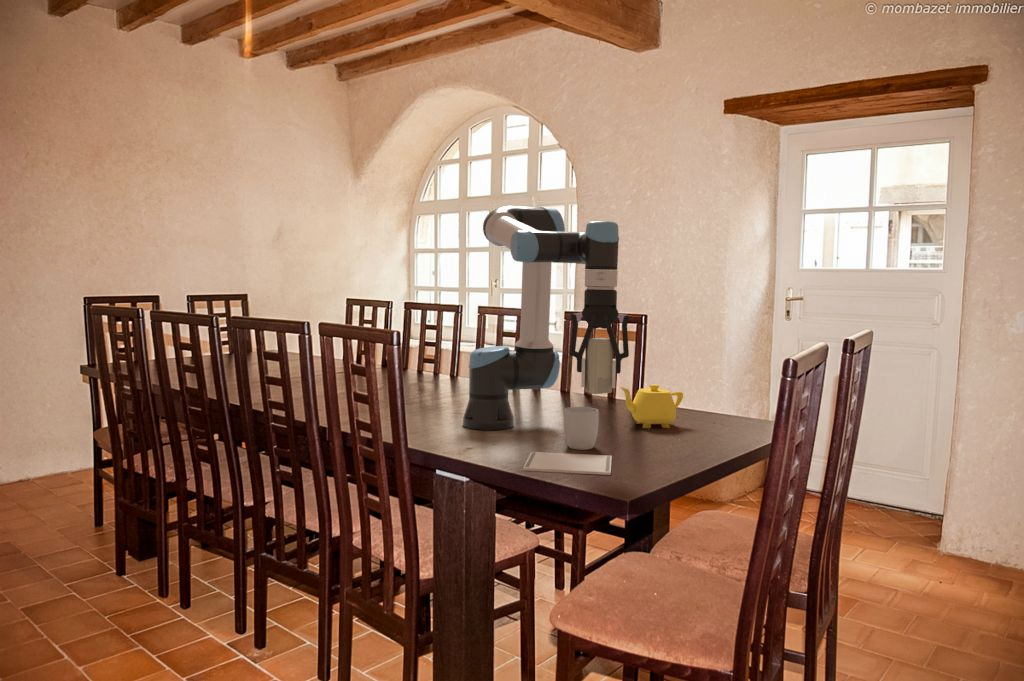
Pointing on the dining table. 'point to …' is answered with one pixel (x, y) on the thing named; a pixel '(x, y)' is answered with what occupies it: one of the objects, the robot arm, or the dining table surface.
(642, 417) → the teapot
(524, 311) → the robot arm
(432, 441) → the dining table surface
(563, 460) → the white tray
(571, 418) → the mug
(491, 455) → the dining table surface
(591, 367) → the box
